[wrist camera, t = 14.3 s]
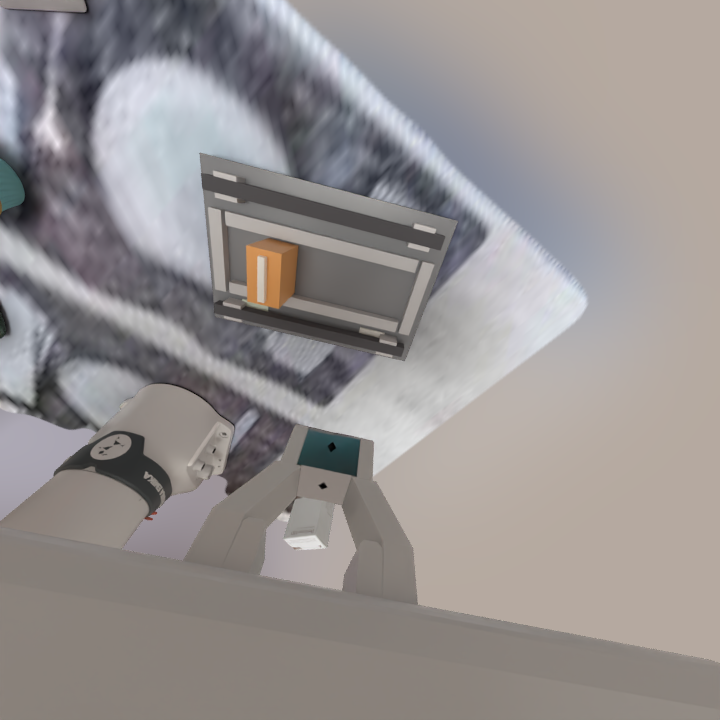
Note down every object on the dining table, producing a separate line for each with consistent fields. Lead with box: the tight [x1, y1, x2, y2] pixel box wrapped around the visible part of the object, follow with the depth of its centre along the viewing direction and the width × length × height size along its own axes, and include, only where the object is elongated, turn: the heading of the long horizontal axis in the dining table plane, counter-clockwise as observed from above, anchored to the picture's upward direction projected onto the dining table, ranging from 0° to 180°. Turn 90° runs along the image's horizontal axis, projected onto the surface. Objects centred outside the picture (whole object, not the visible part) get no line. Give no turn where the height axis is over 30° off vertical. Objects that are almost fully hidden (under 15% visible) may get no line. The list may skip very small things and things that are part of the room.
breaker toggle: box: [246, 238, 298, 309], centre depth 25 cm, size 5×3×6 cm, turn 167°
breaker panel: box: [200, 153, 458, 361], centre depth 28 cm, size 16×24×4 cm, turn 77°
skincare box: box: [283, 496, 335, 550], centre depth 44 cm, size 6×4×12 cm
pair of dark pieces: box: [201, 173, 445, 357], centre depth 26 cm, size 13×22×1 cm, turn 77°
